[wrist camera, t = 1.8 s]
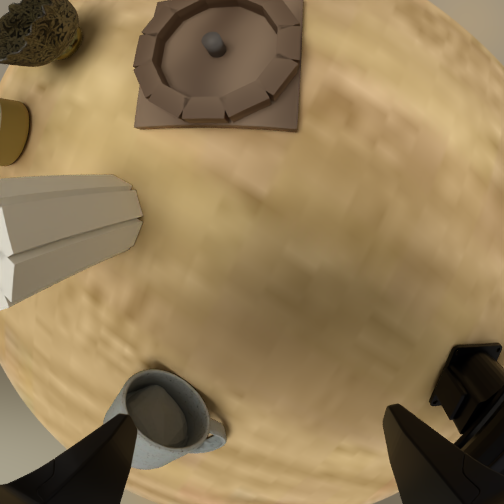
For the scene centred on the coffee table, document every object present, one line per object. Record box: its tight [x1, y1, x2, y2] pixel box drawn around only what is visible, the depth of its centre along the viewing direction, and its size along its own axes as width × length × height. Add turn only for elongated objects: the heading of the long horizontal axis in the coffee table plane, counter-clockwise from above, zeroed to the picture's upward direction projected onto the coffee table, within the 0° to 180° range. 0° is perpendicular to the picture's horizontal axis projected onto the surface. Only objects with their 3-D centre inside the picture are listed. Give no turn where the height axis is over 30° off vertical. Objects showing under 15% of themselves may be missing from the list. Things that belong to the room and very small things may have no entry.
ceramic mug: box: [103, 369, 227, 470], centre depth 21 cm, size 11×8×8 cm
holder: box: [133, 0, 303, 132], centre depth 16 cm, size 11×11×3 cm
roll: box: [0, 174, 143, 310], centre depth 15 cm, size 6×6×12 cm
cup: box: [0, 0, 83, 67], centre depth 14 cm, size 7×7×8 cm
